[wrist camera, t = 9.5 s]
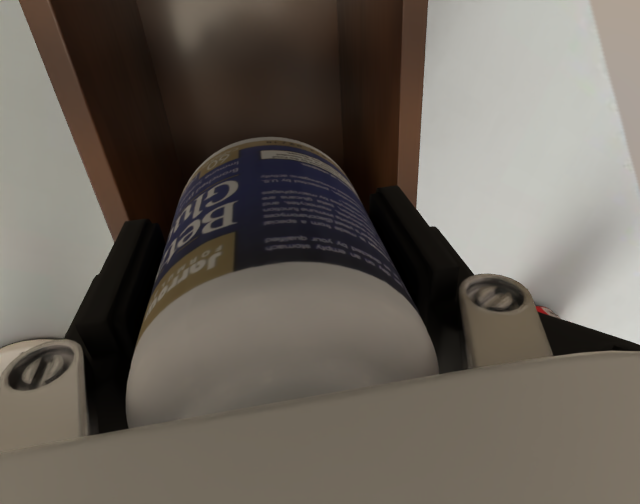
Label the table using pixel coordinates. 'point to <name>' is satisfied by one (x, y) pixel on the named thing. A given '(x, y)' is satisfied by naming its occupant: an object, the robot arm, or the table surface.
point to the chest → (232, 89)
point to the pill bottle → (271, 291)
